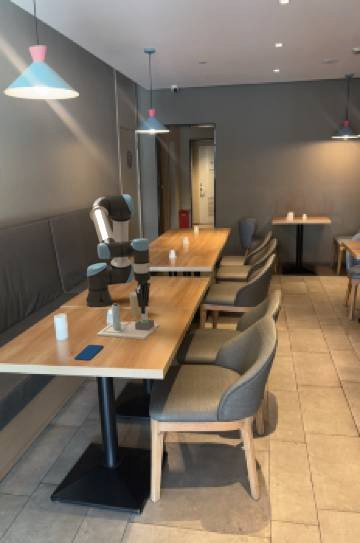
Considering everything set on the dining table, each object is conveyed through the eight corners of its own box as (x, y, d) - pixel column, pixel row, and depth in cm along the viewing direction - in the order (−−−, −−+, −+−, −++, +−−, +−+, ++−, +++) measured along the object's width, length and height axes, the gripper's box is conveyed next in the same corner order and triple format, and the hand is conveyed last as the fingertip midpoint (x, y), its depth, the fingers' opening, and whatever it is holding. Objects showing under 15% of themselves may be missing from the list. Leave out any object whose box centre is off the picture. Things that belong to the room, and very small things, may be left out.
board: (97, 335, 211) (96, 327, 210) (115, 322, 229) (115, 314, 228) (144, 339, 203) (144, 331, 203) (159, 325, 222) (159, 317, 221)
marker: (112, 330, 214) (110, 304, 212) (115, 327, 218) (113, 302, 215) (119, 330, 213) (117, 304, 211) (122, 328, 217) (120, 302, 214)
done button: (139, 326, 215) (139, 321, 215) (142, 323, 219) (142, 318, 218) (147, 327, 214) (146, 321, 214) (150, 324, 218) (149, 319, 217)
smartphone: (73, 358, 184) (88, 344, 198) (73, 361, 184) (88, 346, 198) (89, 359, 182) (104, 345, 196) (90, 362, 182) (104, 347, 196)
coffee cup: (145, 317, 235) (143, 295, 232) (127, 317, 237) (126, 295, 234) (149, 312, 244) (148, 291, 241) (133, 312, 246) (132, 290, 243)
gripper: (144, 274, 204) (146, 324, 209) (154, 269, 216) (156, 316, 221) (129, 274, 206) (131, 323, 211) (140, 268, 218) (142, 315, 223)
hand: (144, 319), depth 216 cm, fingers closed
